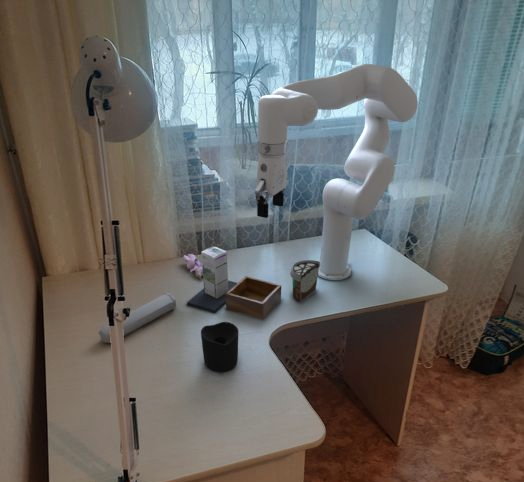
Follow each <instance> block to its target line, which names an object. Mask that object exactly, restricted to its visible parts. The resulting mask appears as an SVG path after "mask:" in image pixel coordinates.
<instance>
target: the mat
mask: <svg viewBox="0 0 524 482" xmlns="http://www.w3.org/2000/svg"><path fill="white" fill-rule="evenodd" d="M237 283H238V282H236V281H231V280H228V290H230V289H231V288H233V287H234V286H235V285H236V284H237ZM186 305H187V306H190V307H194V308H196V309H199V310H203V311H206V312H210V313H213V314H216V313H217V312H218V311H219V310H220V309H221V308H222V307H223V306H225V305H226V294H225V295H223V296H221V297H219V298H217V299H216V298H214V297H212V296H210V295H208V294H206V293H204V288H203V289H201V290H200V291H198V293H196V294H194V296H193V297H191V298H190V299H189V300H188V301H187V302H186Z"/></svg>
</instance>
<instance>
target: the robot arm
mask: <svg viewBox="0 0 524 482" xmlns="http://www.w3.org/2000/svg"><path fill="white" fill-rule="evenodd" d="M361 101H363V107H364V109H363V110H364V127H363V130H362V133H361V134H360V136H359V138H358V140H357V142H356V143H355V145H354V147H353V148H352V149H351V152H350V153H349V155H348V156H347V159H346V160H345V163H344V166H343V171H344V173H345V175H346V176H347V177H348V178H350V179H353V180H354V181H357V182H360V183H363V184H362V185H361V184H358V183H357V182H353V181H351V180H347V179H344V178H341V177H340V178H339V177H338V178H333V179H330V180H329V181H328V182H326V184H325V185H324V187H323V189H322V205H323V206H322V207H323V208H322V209H323V219H322V220H323V223H322V232H321V244H320V255H319V262H320V267H319V271H318V277H319V278H322V279H324V280H329V281H341V280H342V281H343V280H345V279H347V278H349V277H350V276H351V275H352V269H351V267H350V266H349V265H348V263H349V262H348V261H349V256H350V255H349V254H350V248H351V239H352V234H353V233H352V231H353V219H355V220H365V219H367V218H368V217H369V216H370V215H371V214H372V213H373V211H374V210H375V208H376V207H377V205H378V203H379V202H380V201H381V199H382V197H383V196H384V194H385V192H386V191H387V189H388V188H389V186H390V184H391V182H392V180H393V178H394V175H395V170H396V166H395V161H394V159H393V158H392V157H390V156H389V155H387V154H385V153H384V151H385V150H386V147H387V146H388V144H389V140H390V127H389V121H393V122H398V123H406V122H408V121H410V120H411V119H413V118H414V116H415V114H416V112H417V111H418V107H419V106H418V105H419V102H418V95H417V93H416V91H414V89H413V88H412V86H410V85H409V83H408V82H407V81H406V79H405V78H404V77H403V76H402V75H401V74H400V73H399V72H398V71H397V70H396V69H394V68H393V67H391V66H386V65H385V66H384V65H378V64H373V63H363V64H359V65H357V66H354V67H351V68H349V69H346V70H343V71H340V72H338V73H335V74H332V75H327V76H319V77H314V78H309V79H304V80H298V81H294V82H291V83H288V84H286V85H282V86H280V87H278V88H277V89H275V90H274V91H273V92H272V94H265V95H262V96H261V97H259V100H258V103H257V104H258V107H257V155H258V160H257V173H256V188H255V189H254V195H255V200H256V216H257V217H259V218H263V219H267V218H269V198H270V196H272V206H275V207H283V206H284V199H285V196H284V195H285V193H284V192H285V188H286V187H287V184H288V161H287V160H288V159H287V147H288V146H287V145H288V144H287V143H288V127H305V126H308V125H310V124H311V123H313V122H314V121H315V119H316V118H317V116H318V113H319V110H321V111H333V110H340V109H343V108H346V107H347V106H350V105H353V104H355V103H357V102H361ZM388 120H389V121H388ZM264 196H265V197H264Z"/></svg>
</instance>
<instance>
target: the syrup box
mask: <svg viewBox="0 0 524 482" xmlns="http://www.w3.org/2000/svg"><path fill="white" fill-rule="evenodd" d="M200 253H201V267H203V276H202V277H203V278H202V280H203V289H204V293H206V294H208V295H210V296H212V297H214V298H216V299H217V298H219V297H221V296H223V295H225V294H226V293H227V292H228V291H229V290H228V281H229V272H228V270H229V269H228V267H229V266H228V251H227V250H225V249H223V248H219V247H217V246H215V245H213V246H211V247H208V248H206V249H204V250H202V251H201V252H200Z"/></svg>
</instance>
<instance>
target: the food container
mask: <svg viewBox="0 0 524 482" xmlns="http://www.w3.org/2000/svg"><path fill="white" fill-rule="evenodd" d="M319 267H320V260H315V259H306V260H305V259H304V260H299V261H297V262H295V263H294V264H293V265H292V267H291V269H290V271H289V272H290V273H289V275H290V277H291V278H292V298H293V299H294V300H295V301H296V302H298V303H300V304H301V303H302V302H304V301H305V300H306V299H307V298H309V297H310V296H311V295H312V294H314V293H315V292H316V291H317V286H318V285H317V284H318V277H319V276H318V271H319Z"/></svg>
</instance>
